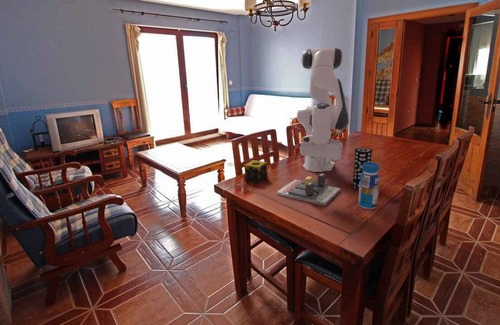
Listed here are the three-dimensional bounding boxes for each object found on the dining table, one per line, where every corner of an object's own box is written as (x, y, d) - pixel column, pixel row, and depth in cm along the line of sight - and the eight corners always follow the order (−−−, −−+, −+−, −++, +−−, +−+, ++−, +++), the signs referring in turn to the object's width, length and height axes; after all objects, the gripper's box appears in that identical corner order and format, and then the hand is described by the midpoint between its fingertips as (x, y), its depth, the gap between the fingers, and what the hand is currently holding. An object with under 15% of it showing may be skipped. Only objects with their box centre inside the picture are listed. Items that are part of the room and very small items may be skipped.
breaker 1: (307, 185, 151) (307, 175, 149) (312, 186, 150) (312, 176, 148) (304, 187, 148) (304, 178, 147) (309, 188, 147) (309, 178, 145)
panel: (295, 181, 165) (295, 177, 164) (339, 191, 150) (340, 185, 149) (276, 194, 150) (276, 189, 149) (324, 206, 135) (324, 200, 134)
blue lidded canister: (354, 202, 137) (357, 161, 131) (372, 200, 138) (375, 160, 132) (362, 210, 129) (365, 167, 123) (381, 208, 130) (385, 166, 124)
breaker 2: (308, 191, 143) (309, 181, 142) (313, 192, 142) (313, 182, 140) (305, 194, 141) (305, 184, 139) (310, 195, 139) (310, 185, 138)
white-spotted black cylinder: (349, 184, 158) (351, 149, 151) (361, 182, 160) (364, 147, 154) (359, 190, 150) (362, 152, 144) (372, 187, 153) (375, 150, 147)
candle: (253, 175, 179) (252, 159, 176) (267, 177, 174) (267, 161, 171) (244, 180, 171) (243, 164, 168) (259, 183, 166) (258, 166, 163)
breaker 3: (320, 182, 154) (320, 173, 152) (324, 183, 153) (325, 173, 151) (317, 184, 151) (317, 175, 150) (322, 185, 150) (322, 176, 148)
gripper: (345, 139, 134) (343, 167, 138) (304, 135, 146) (304, 161, 150) (340, 142, 129) (338, 171, 133) (298, 137, 141) (298, 165, 145)
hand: (320, 166), depth 141 cm, fingers closed
